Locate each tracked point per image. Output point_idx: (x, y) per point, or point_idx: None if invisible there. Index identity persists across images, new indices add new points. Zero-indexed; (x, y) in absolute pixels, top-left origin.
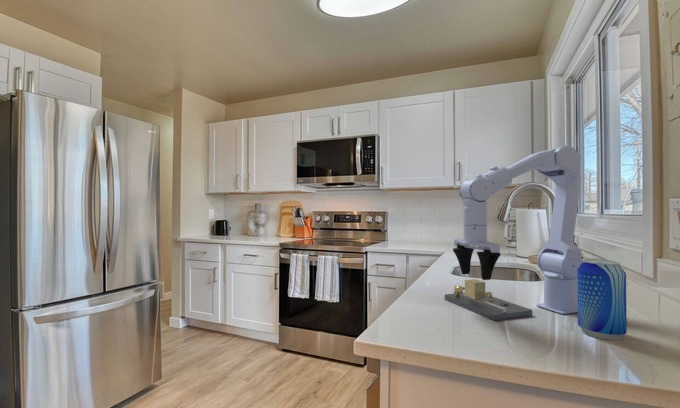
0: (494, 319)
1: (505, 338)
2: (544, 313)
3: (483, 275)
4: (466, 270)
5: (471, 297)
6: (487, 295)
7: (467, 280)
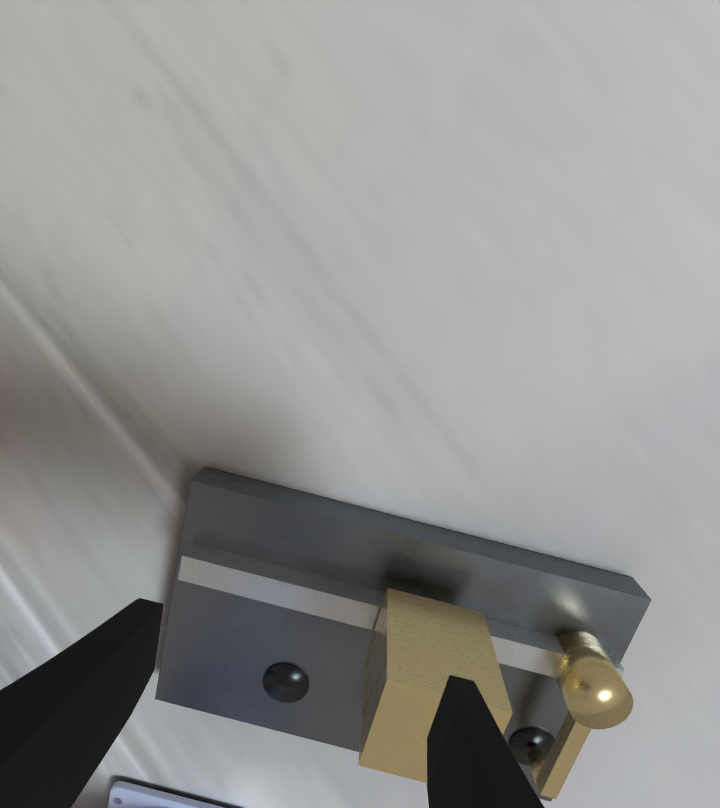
0: (205, 470)
1: (12, 281)
2: (168, 743)
3: (105, 623)
4: (442, 747)
5: (419, 598)
6: None
7: None
